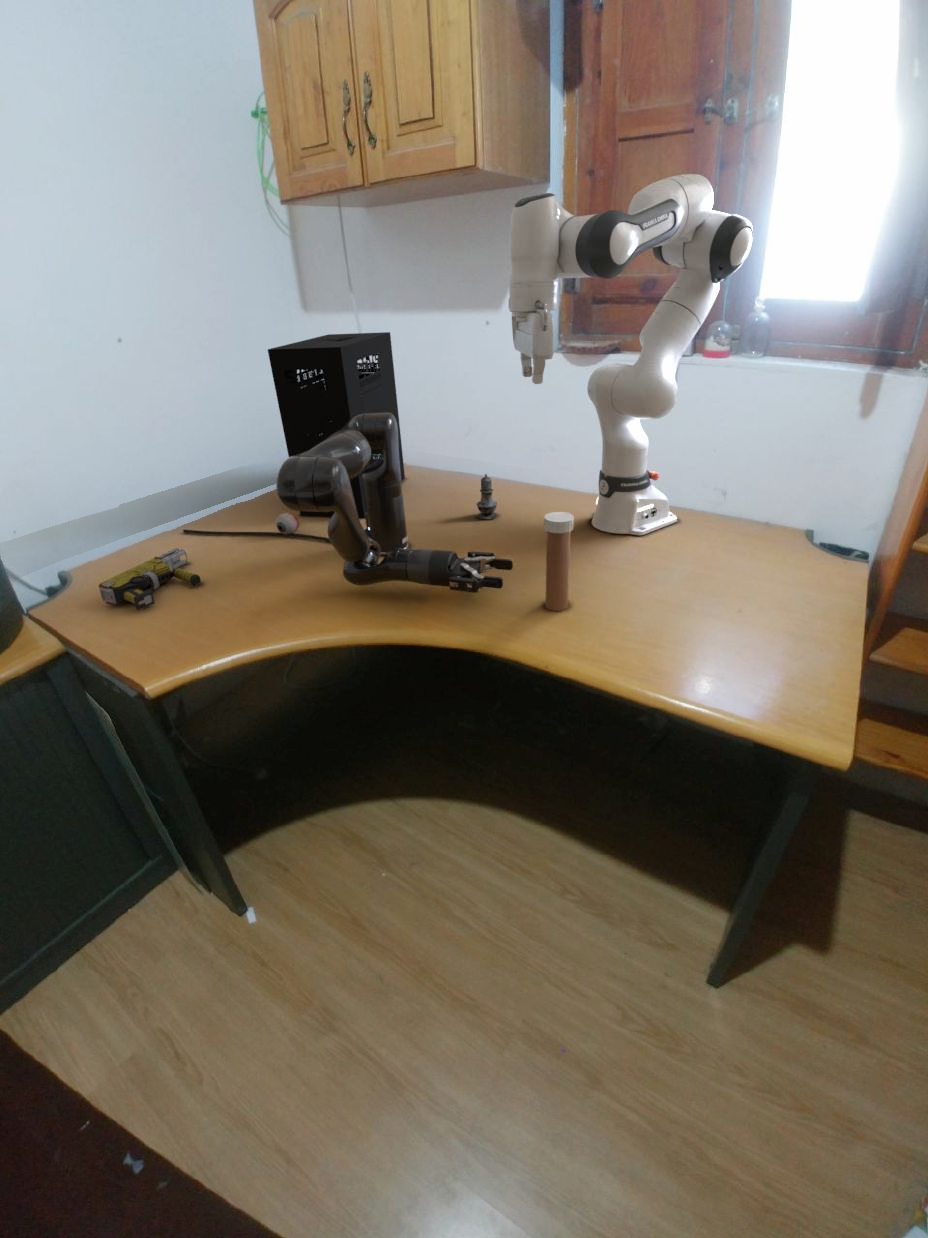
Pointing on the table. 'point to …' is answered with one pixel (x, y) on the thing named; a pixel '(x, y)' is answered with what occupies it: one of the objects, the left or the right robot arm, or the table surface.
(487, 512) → the grey stone chess piece
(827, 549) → the table surface
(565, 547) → the tan cylinder
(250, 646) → the table surface
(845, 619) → the table surface
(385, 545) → the left robot arm
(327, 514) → the cardboard box
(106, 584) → the toy gun
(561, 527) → the lid
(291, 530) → the eyeball
